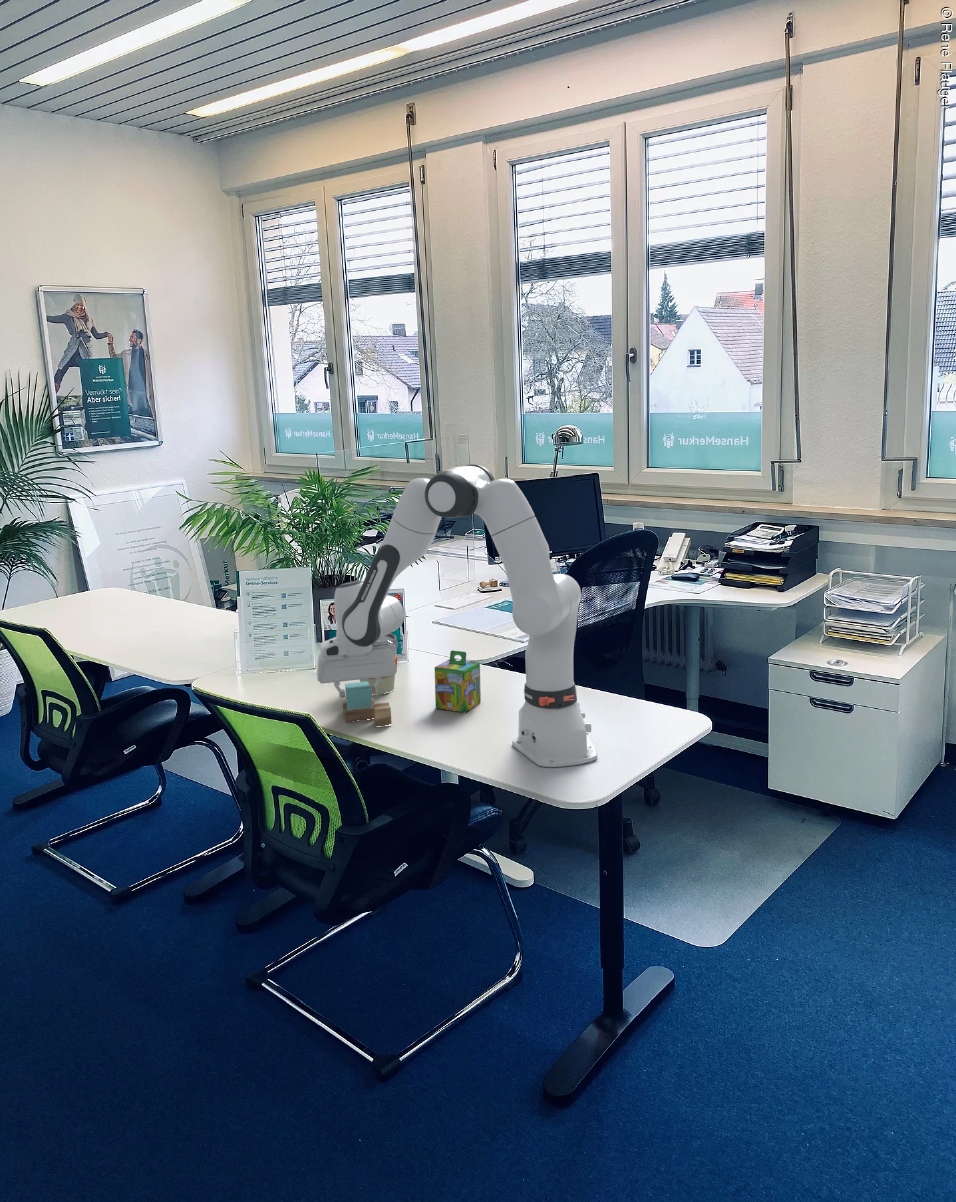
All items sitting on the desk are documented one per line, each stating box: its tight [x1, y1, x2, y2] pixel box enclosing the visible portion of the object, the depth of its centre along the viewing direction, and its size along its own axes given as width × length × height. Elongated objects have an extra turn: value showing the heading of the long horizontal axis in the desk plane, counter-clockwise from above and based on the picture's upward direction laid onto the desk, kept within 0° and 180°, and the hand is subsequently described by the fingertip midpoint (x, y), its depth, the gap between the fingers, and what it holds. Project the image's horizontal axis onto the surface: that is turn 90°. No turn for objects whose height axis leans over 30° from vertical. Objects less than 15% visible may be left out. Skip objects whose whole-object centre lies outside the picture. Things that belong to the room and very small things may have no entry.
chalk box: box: [434, 650, 482, 713], centre depth 251 cm, size 9×9×15 cm
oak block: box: [373, 701, 393, 726], centre depth 241 cm, size 4×4×5 cm
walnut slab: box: [341, 697, 376, 723], centre depth 248 cm, size 8×8×3 cm
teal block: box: [344, 681, 372, 710], centre depth 247 cm, size 6×6×5 cm
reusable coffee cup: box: [359, 633, 399, 696], centre depth 266 cm, size 13×13×15 cm
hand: (358, 695), depth 247 cm, fingers open, 7 cm apart
